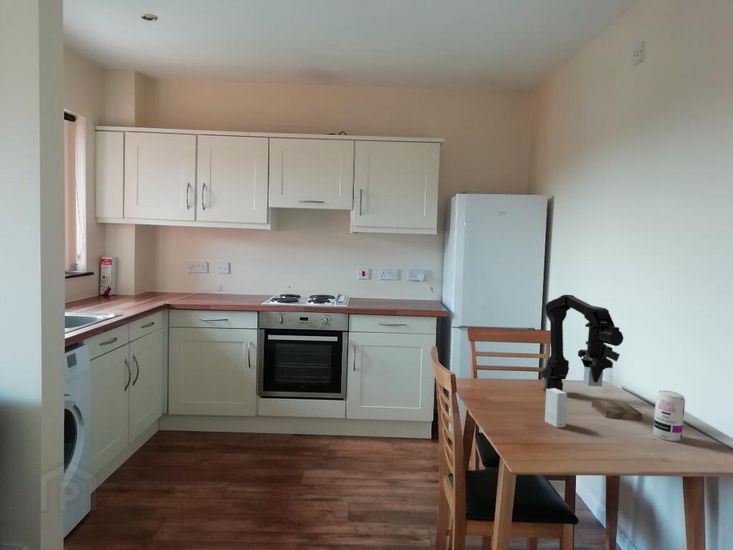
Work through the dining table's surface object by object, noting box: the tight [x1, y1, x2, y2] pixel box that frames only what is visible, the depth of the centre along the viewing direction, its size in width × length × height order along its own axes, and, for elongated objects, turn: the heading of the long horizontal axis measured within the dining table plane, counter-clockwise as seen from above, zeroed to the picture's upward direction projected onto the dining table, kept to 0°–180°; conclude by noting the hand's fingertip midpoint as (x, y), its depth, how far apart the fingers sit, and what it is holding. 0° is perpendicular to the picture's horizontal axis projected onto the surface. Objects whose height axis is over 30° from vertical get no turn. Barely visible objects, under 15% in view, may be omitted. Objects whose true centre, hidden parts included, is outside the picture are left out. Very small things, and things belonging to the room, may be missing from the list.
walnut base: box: [591, 399, 643, 421], centre depth 182 cm, size 13×13×2 cm
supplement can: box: [652, 390, 686, 442], centre depth 159 cm, size 8×8×15 cm
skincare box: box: [544, 388, 568, 428], centre depth 166 cm, size 6×4×12 cm
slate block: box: [582, 367, 604, 388], centre depth 182 cm, size 5×5×6 cm
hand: (592, 380), depth 182 cm, fingers closed on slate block, 5 cm apart
